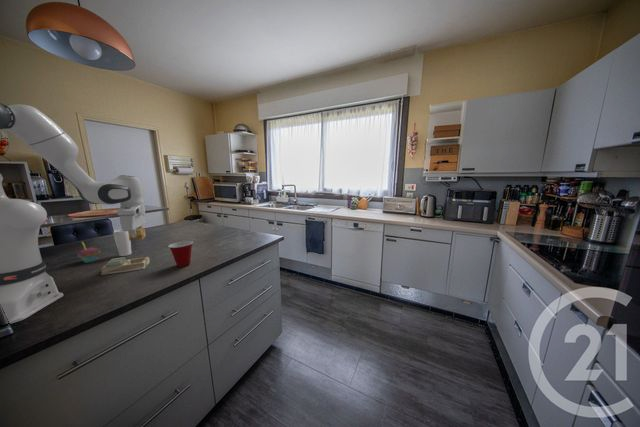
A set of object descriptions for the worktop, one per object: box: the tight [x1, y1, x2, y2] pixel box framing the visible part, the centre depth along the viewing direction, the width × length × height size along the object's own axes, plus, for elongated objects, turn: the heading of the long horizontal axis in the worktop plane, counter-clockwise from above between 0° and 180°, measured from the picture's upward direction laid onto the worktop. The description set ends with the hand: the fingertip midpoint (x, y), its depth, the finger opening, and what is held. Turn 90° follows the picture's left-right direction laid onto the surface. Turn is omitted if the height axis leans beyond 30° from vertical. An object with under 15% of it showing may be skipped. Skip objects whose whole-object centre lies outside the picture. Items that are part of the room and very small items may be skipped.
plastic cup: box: [167, 240, 194, 268], centre depth 109 cm, size 11×11×12 cm
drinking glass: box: [112, 228, 132, 257], centre depth 121 cm, size 7×7×15 cm
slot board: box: [100, 256, 151, 276], centre depth 106 cm, size 10×16×5 cm, turn 114°
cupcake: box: [76, 241, 101, 263], centre depth 113 cm, size 9×8×12 cm
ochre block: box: [128, 227, 146, 242], centre depth 105 cm, size 5×5×5 cm
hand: (137, 235), depth 105 cm, fingers closed on ochre block, 5 cm apart
